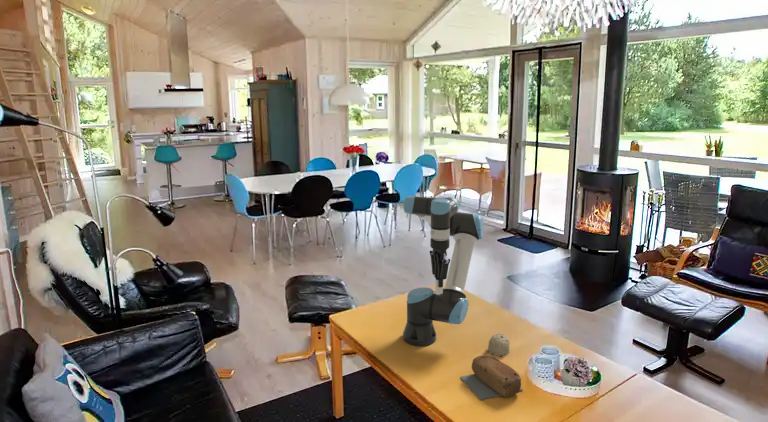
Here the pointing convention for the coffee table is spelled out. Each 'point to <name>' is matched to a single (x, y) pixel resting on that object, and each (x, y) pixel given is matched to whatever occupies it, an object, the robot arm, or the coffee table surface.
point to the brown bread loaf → (496, 375)
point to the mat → (480, 387)
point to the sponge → (499, 344)
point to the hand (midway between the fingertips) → (438, 293)
